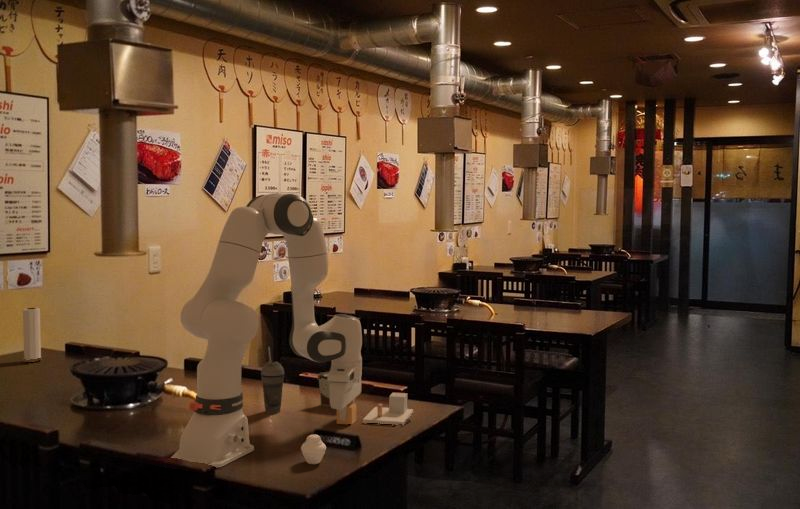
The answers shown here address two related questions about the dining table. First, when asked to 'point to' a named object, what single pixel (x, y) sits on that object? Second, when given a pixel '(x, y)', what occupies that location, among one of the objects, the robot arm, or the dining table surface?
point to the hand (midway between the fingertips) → (346, 416)
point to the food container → (324, 388)
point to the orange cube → (348, 415)
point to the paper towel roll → (31, 333)
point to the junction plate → (391, 411)
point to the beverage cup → (272, 385)
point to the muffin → (313, 449)
